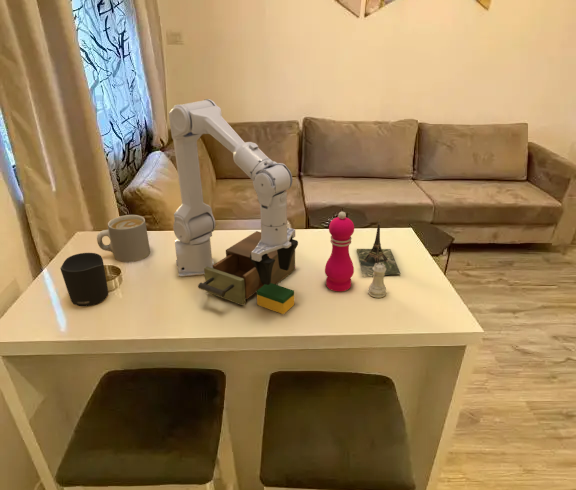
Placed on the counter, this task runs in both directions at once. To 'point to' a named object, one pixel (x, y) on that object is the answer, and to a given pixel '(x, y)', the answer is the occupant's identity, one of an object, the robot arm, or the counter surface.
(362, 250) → the eiffel tower figurine
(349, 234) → the pepper mill
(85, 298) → the black speaker
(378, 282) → the rook chess piece
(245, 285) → the drawer
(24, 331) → the counter surface
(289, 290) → the sponge
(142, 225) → the coffee mug
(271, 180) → the robot arm
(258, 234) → the cabinet
